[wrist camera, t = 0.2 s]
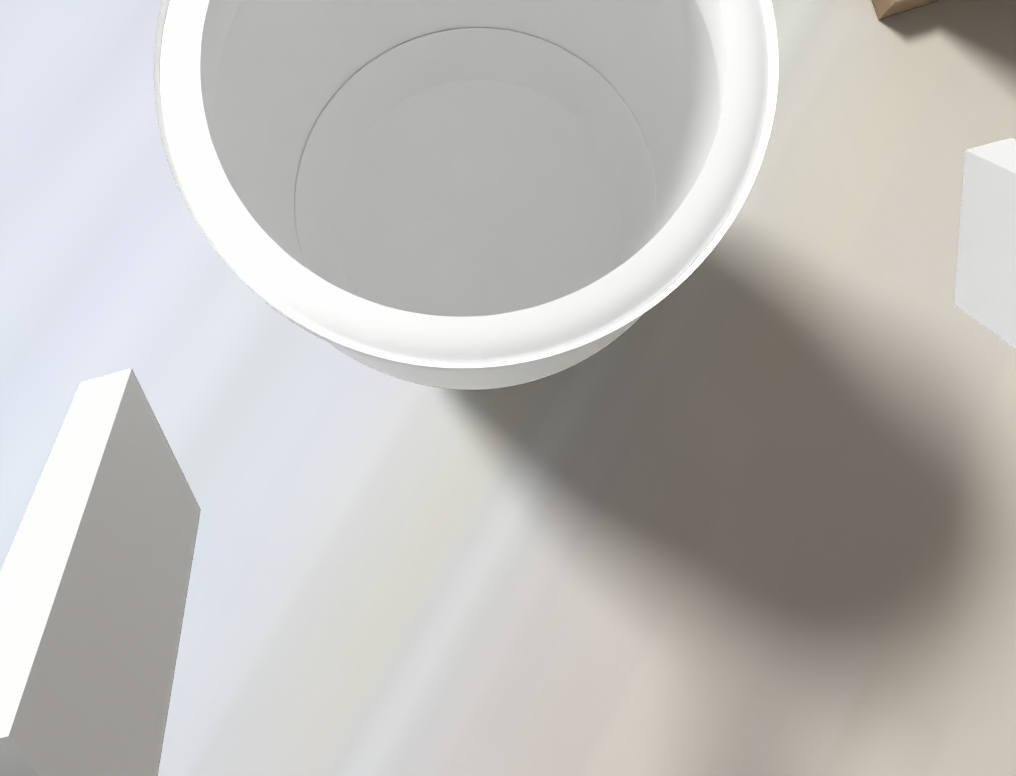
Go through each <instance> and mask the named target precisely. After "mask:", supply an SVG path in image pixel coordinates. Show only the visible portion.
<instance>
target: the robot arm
mask: <svg viewBox="0 0 1016 776" xmlns="http://www.w3.org/2000/svg"><path fill="white" fill-rule="evenodd" d="M954 305H955V306H956V307H958V308H959V309H961V310H962V311H963V312H965V313H966V314H967V315H969V316H970V317H972V318H973V319H974V320H976V321H977V322H979V323H980V324H981V325H983V326H984V327H986V328H987V329H988V330H990V331H991V332H993V333H994V334H995V335H997V336H998V337H999V338H1001V339H1002V340H1004V341H1005V342H1006V343H1008V344H1009V345H1011V346H1012V347H1013V348H1015V349H1016V140H1015V139H1013V138H1009V139H1005V140H1001V141H997V142H994V143H990V144H986V145H982V146H978V147H975V148H971V149H967V150H965V162H964V176H963V190H962V204H961V218H960V232H959V246H958V260H957V274H956V288H955V302H954ZM200 510H201V509H200V507H199V505H198V503H197V501H196V499H195V497H194V495H193V493H192V491H191V489H190V487H189V485H188V483H187V481H186V478H185V476H184V474H183V472H182V470H181V468H180V466H179V464H178V462H177V460H176V458H175V456H174V454H173V452H172V450H171V448H170V446H169V444H168V441H167V439H166V437H165V435H164V433H163V431H162V429H161V427H160V425H159V423H158V421H157V419H156V417H155V415H154V413H153V411H152V409H151V407H150V405H149V402H148V400H147V398H146V396H145V394H144V392H143V390H142V388H141V386H140V384H139V382H138V380H137V378H136V376H135V374H134V372H133V370H132V368H131V369H127V370H123V371H120V372H116V373H112V374H108V375H104V376H100V377H97V378H93V379H89V380H85V381H81V382H80V384H79V387H78V389H77V391H76V394H75V396H74V398H73V401H72V403H71V406H70V408H69V410H68V413H67V415H66V417H65V420H64V422H63V425H62V427H61V429H60V432H59V434H58V436H57V439H56V441H55V443H54V446H53V448H52V451H51V453H50V455H49V458H48V460H47V462H46V465H45V467H44V470H43V472H42V474H41V477H40V479H39V481H38V484H37V486H36V489H35V491H34V493H33V496H32V498H31V500H30V503H29V505H28V507H27V510H26V512H25V515H24V517H23V519H22V522H21V524H20V526H19V529H18V531H17V534H16V536H15V538H14V541H13V543H12V545H11V548H10V550H9V553H8V555H7V557H6V560H5V562H4V564H3V567H2V569H1V571H0V776H158V770H159V764H160V758H161V752H162V745H163V739H164V733H165V727H166V721H167V715H168V708H169V702H170V696H171V690H172V684H173V677H174V671H175V665H176V659H177V653H178V647H179V640H180V634H181V628H182V622H183V616H184V609H185V603H186V597H187V591H188V585H189V578H190V572H191V566H192V560H193V554H194V548H195V541H196V535H197V529H198V523H199V517H200Z"/></svg>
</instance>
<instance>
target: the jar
mask: <svg viewBox="0 0 1016 776" xmlns="http://www.w3.org/2000/svg"><path fill="white" fill-rule="evenodd" d="M778 67H779V63H778V41H777V31H776V24H775V17H774V12H773V7H772V2H771V0H163V1H162V5H161V9H160V14H159V19H158V25H157V32H156V40H155V50H154V93H155V104H156V112H157V118H158V124H159V129H160V134H161V138H162V142H163V146H164V150H165V153H166V157H167V160H168V163H169V166H170V169H171V171H172V174H173V177H174V179H175V182H176V184H177V186H178V189H179V191H180V193H181V195H182V197H183V199H184V201H185V203H186V205H187V207H188V209H189V211H190V212H191V214H192V216H193V218H194V219H195V221H196V223H197V224H198V226H199V228H200V229H201V231H202V232H203V234H204V235H205V236H206V238H207V239H208V241H209V242H210V243H211V245H212V246H213V247H214V249H215V250H216V252H217V253H218V254H219V256H220V257H221V258H222V259H223V261H224V262H225V263H226V264H227V265H228V267H229V268H230V269H231V270H232V271H233V272H234V273H235V274H236V275H237V276H238V277H239V278H240V279H241V281H242V282H243V283H245V284H246V285H247V286H248V287H249V288H250V289H251V290H252V291H253V292H254V293H255V294H256V295H257V296H258V297H259V298H261V299H262V300H263V301H264V302H265V303H266V304H268V305H269V306H270V307H271V308H273V309H274V310H275V311H277V312H278V313H280V314H281V315H283V316H284V317H285V318H287V319H288V320H290V321H291V322H293V323H295V324H296V325H298V326H299V327H301V328H303V329H304V330H306V331H308V332H309V333H311V334H313V335H315V336H316V337H318V338H320V339H322V340H324V341H327V342H328V343H330V344H331V345H332V346H334V347H335V348H337V349H338V350H340V351H341V352H343V353H345V354H346V355H348V356H350V357H351V358H353V359H355V360H357V361H358V362H360V363H362V364H364V365H366V366H368V367H371V368H373V369H375V370H377V371H380V372H382V373H385V374H387V375H390V376H393V377H396V378H399V379H402V380H405V381H409V382H413V383H417V384H421V385H426V386H432V387H438V388H447V389H460V390H480V389H494V388H502V387H509V386H514V385H519V384H523V383H528V382H531V381H535V380H538V379H541V378H544V377H547V376H550V375H553V374H555V373H558V372H560V371H563V370H565V369H567V368H569V367H572V366H574V365H576V364H578V363H580V362H581V361H583V360H585V359H587V358H589V357H590V356H592V355H594V354H595V353H597V352H598V351H600V350H601V349H603V348H604V347H606V346H607V345H609V344H610V343H611V342H613V341H614V340H615V339H617V338H618V337H619V336H620V335H622V334H623V333H624V332H625V331H626V330H627V329H629V328H630V327H631V326H632V325H633V324H634V323H635V322H636V321H637V320H638V319H639V318H640V317H641V316H642V315H643V314H644V313H646V312H647V311H648V310H650V309H651V308H652V307H654V306H655V305H656V304H658V303H659V302H660V301H661V300H662V299H664V298H665V297H666V296H667V295H669V294H670V293H671V292H672V291H673V290H674V289H676V288H677V287H678V286H679V285H680V284H681V283H682V282H683V281H684V280H685V279H686V278H688V277H689V276H690V275H691V274H692V273H693V272H694V270H695V269H696V268H697V267H698V266H699V265H700V264H701V263H702V262H703V261H704V260H705V258H706V257H707V256H708V255H709V254H710V252H711V251H712V250H713V249H714V248H715V246H716V245H717V244H718V242H719V241H720V240H721V238H722V237H723V235H724V234H725V233H726V231H727V230H728V228H729V227H730V225H731V224H732V222H733V221H734V219H735V217H736V216H737V214H738V212H739V210H740V209H741V207H742V205H743V203H744V201H745V199H746V198H747V196H748V194H749V191H750V189H751V187H752V185H753V183H754V181H755V178H756V176H757V173H758V171H759V168H760V166H761V163H762V160H763V157H764V154H765V151H766V147H767V144H768V140H769V137H770V133H771V128H772V124H773V119H774V113H775V107H776V99H777V89H778Z"/></svg>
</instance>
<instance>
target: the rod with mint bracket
mask: <svg viewBox="0 0 1016 776" xmlns="http://www.w3.org/2000/svg"><path fill="white" fill-rule="evenodd" d="M934 1H937V0H872V3H873V6H874V8H875V11H876V14H877V17H878V19H882V18H885V17H888V16H891V15H894V14H897V13H901V12H904V11H907V10H910V9H913V8H916V7H919V6H922V5H925V4H928V3H931V2H934Z"/></svg>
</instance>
